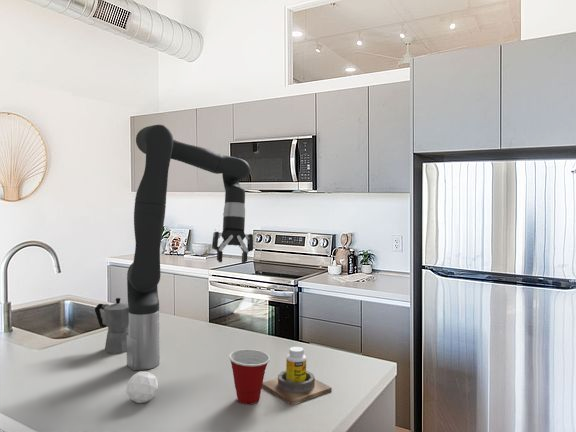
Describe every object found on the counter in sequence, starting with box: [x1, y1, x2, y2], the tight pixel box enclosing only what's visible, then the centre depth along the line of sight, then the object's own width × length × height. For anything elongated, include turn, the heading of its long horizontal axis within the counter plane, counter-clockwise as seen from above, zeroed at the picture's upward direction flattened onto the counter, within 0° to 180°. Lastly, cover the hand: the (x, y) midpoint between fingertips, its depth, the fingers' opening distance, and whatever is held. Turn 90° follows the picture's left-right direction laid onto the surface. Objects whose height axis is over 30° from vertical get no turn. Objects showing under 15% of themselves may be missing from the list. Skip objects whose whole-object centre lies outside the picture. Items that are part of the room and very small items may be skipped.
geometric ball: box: [126, 370, 159, 404], centre depth 118 cm, size 8×8×8 cm
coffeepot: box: [94, 297, 129, 355], centre depth 156 cm, size 15×9×18 cm, turn 79°
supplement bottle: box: [285, 346, 307, 383], centre depth 126 cm, size 6×6×10 cm
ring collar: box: [262, 370, 333, 406], centre depth 126 cm, size 14×14×4 cm
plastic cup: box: [228, 348, 271, 405], centre depth 119 cm, size 11×11×12 cm
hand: (232, 262), depth 156 cm, fingers open, 8 cm apart
